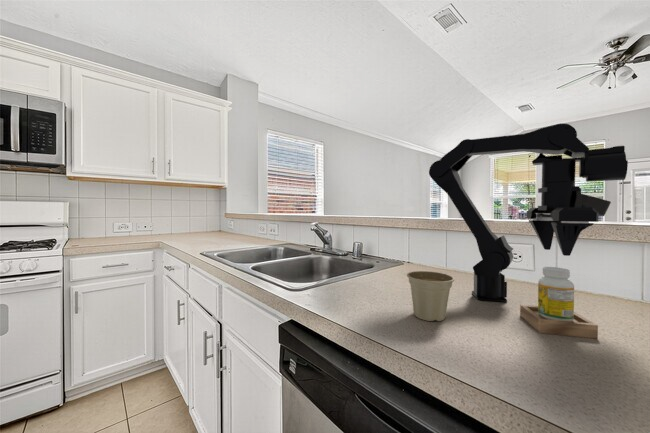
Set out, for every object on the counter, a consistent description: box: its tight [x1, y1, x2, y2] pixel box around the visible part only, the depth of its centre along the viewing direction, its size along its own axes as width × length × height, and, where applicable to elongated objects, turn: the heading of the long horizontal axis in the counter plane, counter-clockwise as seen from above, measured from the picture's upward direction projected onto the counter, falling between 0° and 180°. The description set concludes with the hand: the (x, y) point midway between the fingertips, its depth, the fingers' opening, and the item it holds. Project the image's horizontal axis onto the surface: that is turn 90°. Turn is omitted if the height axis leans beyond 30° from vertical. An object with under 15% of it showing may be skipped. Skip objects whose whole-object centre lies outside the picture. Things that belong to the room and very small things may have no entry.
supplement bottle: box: [537, 266, 575, 322], centre depth 53 cm, size 5×5×10 cm
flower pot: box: [406, 270, 456, 322], centre depth 58 cm, size 9×9×9 cm
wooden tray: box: [519, 304, 599, 339], centre depth 53 cm, size 9×9×2 cm
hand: (556, 252), depth 62 cm, fingers open, 9 cm apart
